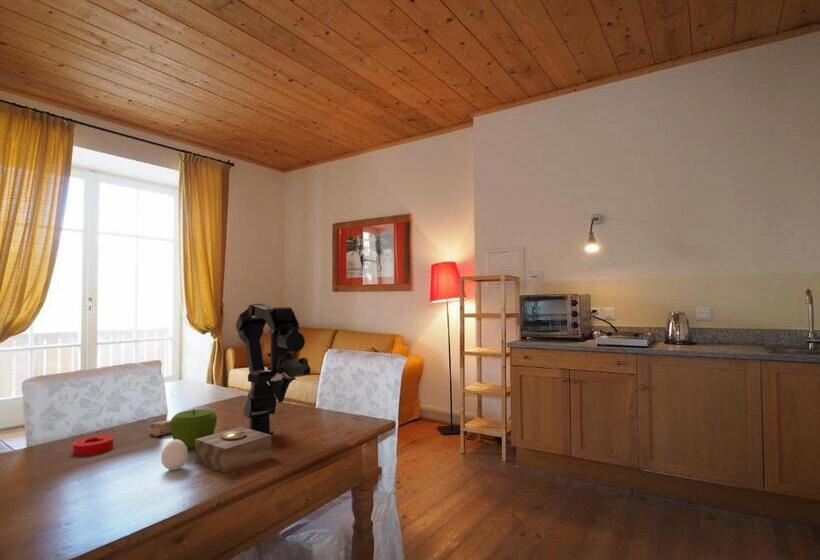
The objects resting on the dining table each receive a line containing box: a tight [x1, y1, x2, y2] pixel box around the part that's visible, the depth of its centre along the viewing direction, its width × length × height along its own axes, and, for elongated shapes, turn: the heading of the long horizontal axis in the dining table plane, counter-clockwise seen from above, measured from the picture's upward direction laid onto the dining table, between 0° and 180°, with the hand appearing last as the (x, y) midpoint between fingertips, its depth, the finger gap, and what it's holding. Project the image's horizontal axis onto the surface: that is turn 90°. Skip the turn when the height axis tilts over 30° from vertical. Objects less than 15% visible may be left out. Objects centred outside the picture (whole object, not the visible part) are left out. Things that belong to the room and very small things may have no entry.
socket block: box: [194, 426, 272, 474], centre depth 123 cm, size 14×14×6 cm
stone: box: [148, 419, 172, 437], centre depth 149 cm, size 8×10×4 cm
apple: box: [170, 408, 218, 452], centre depth 134 cm, size 12×12×11 cm
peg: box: [222, 431, 245, 441], centre depth 123 cm, size 6×6×6 cm
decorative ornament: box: [72, 434, 114, 456], centre depth 133 cm, size 10×10×3 cm
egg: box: [160, 439, 189, 471], centre depth 116 cm, size 6×6×8 cm
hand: (280, 402), depth 134 cm, fingers closed
